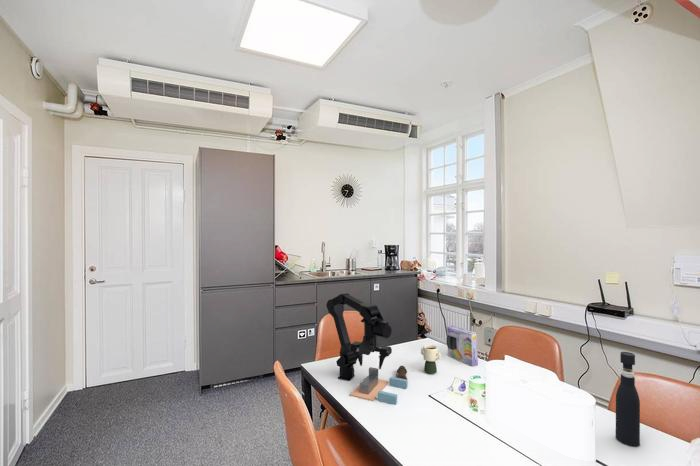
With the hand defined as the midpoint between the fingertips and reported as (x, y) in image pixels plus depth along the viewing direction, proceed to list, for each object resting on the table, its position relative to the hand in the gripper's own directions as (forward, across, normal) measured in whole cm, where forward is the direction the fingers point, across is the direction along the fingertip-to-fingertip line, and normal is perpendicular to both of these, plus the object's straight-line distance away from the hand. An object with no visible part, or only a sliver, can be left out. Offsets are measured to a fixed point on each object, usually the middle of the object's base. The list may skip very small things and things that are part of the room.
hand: (370, 367), depth 152 cm
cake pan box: (+10, +33, +54) cm, 64 cm away
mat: (+10, 0, 0) cm, 10 cm away
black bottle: (+10, +94, +3) cm, 94 cm away
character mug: (+10, +21, +30) cm, 38 cm away
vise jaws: (+10, +11, 0) cm, 15 cm away
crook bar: (+9, 0, -1) cm, 9 cm away
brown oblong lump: (+10, +10, +18) cm, 22 cm away
